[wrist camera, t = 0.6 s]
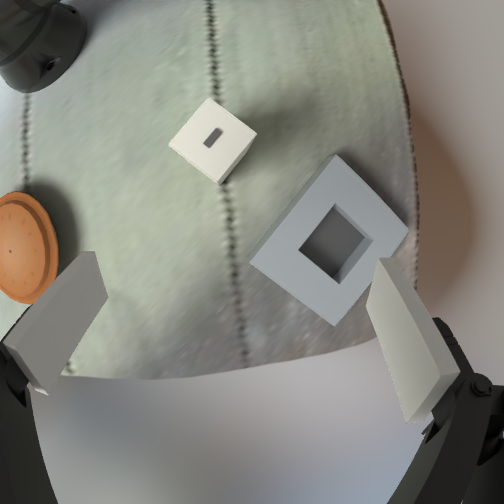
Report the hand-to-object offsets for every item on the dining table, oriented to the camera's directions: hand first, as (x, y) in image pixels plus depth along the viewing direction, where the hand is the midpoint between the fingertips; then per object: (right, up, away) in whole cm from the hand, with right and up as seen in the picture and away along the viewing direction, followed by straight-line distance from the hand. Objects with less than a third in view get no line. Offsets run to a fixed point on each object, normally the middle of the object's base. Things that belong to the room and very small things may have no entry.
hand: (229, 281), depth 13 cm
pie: (-31, +2, +20) cm, 37 cm away
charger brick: (-3, +13, +20) cm, 24 cm away
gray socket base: (+11, +3, +24) cm, 26 cm away
